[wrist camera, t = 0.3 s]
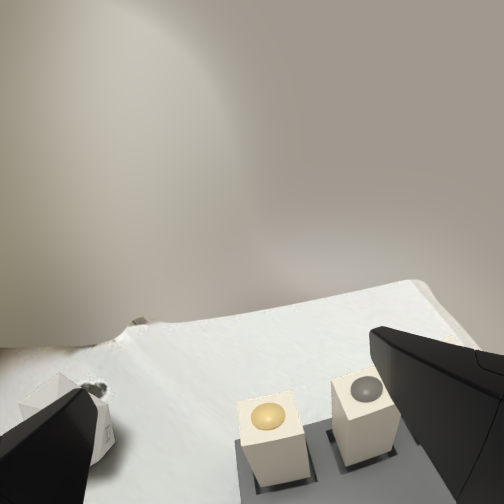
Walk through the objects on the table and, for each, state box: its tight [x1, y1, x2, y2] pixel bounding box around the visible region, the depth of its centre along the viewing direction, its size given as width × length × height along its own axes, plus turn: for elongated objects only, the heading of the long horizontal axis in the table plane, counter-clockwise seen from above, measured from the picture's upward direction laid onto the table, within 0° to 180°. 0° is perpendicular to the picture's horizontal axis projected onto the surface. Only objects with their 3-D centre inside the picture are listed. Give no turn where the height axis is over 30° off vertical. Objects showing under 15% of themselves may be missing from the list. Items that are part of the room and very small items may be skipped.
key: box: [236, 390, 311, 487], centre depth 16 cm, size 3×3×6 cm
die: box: [18, 372, 115, 466], centre depth 21 cm, size 8×9×10 cm
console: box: [235, 415, 456, 504], centre depth 15 cm, size 12×17×3 cm
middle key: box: [331, 366, 401, 467], centre depth 16 cm, size 3×3×6 cm
